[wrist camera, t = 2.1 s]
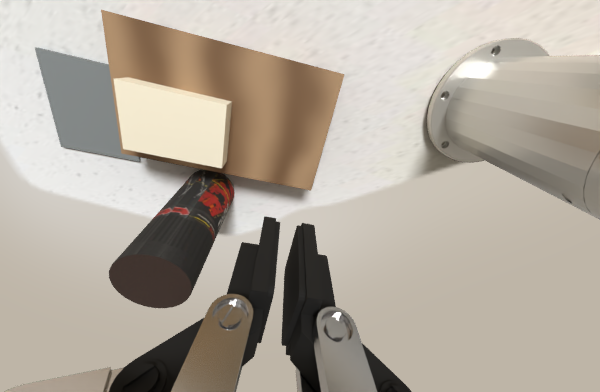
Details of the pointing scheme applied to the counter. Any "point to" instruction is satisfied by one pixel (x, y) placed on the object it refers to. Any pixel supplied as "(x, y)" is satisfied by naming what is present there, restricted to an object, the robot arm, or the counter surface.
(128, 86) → the cream foam block
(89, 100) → the mat
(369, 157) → the counter surface
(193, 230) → the deodorant
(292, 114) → the wood grain slab
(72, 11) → the counter surface
